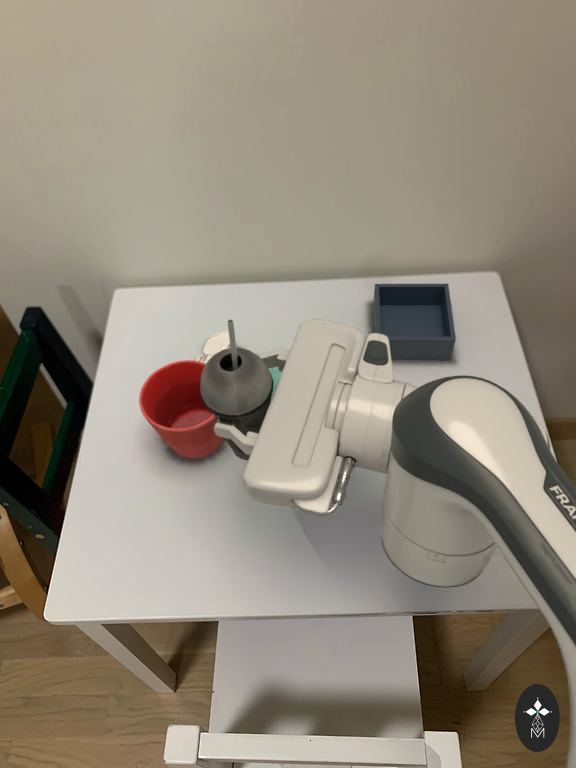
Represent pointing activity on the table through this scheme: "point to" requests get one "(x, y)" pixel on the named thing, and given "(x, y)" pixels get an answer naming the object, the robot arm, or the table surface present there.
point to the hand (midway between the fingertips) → (231, 391)
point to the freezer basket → (415, 320)
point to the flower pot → (180, 409)
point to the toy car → (215, 346)
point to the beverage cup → (237, 388)
